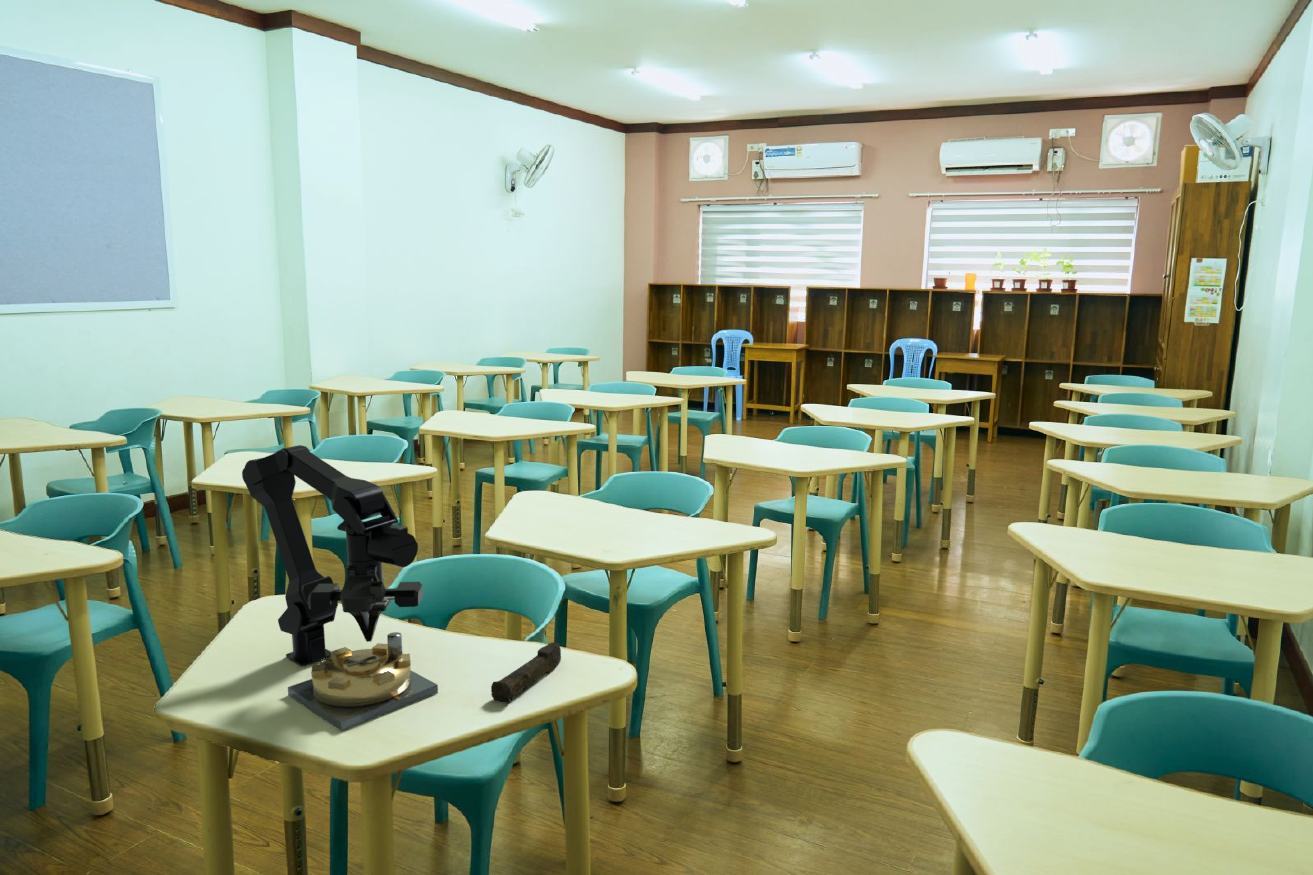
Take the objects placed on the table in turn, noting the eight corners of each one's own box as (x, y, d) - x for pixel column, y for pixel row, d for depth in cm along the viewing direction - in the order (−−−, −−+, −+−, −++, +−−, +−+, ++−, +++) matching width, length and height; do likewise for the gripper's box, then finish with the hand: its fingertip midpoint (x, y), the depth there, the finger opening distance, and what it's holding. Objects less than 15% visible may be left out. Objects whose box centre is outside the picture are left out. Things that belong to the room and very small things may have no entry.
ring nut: (343, 716, 142) (341, 675, 140) (295, 685, 152) (293, 647, 151) (429, 683, 153) (427, 645, 152) (379, 656, 164) (377, 620, 163)
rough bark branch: (508, 707, 149) (508, 681, 149) (490, 701, 151) (489, 676, 150) (572, 665, 166) (572, 642, 165) (555, 660, 168) (554, 637, 167)
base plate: (288, 695, 152) (287, 686, 152) (381, 662, 166) (381, 653, 165) (341, 731, 141) (341, 721, 140) (437, 692, 154) (437, 683, 153)
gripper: (295, 573, 146) (301, 661, 149) (410, 570, 148) (414, 658, 151) (315, 552, 157) (320, 635, 160) (422, 550, 159) (425, 632, 162)
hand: (369, 640), depth 158 cm, fingers closed
